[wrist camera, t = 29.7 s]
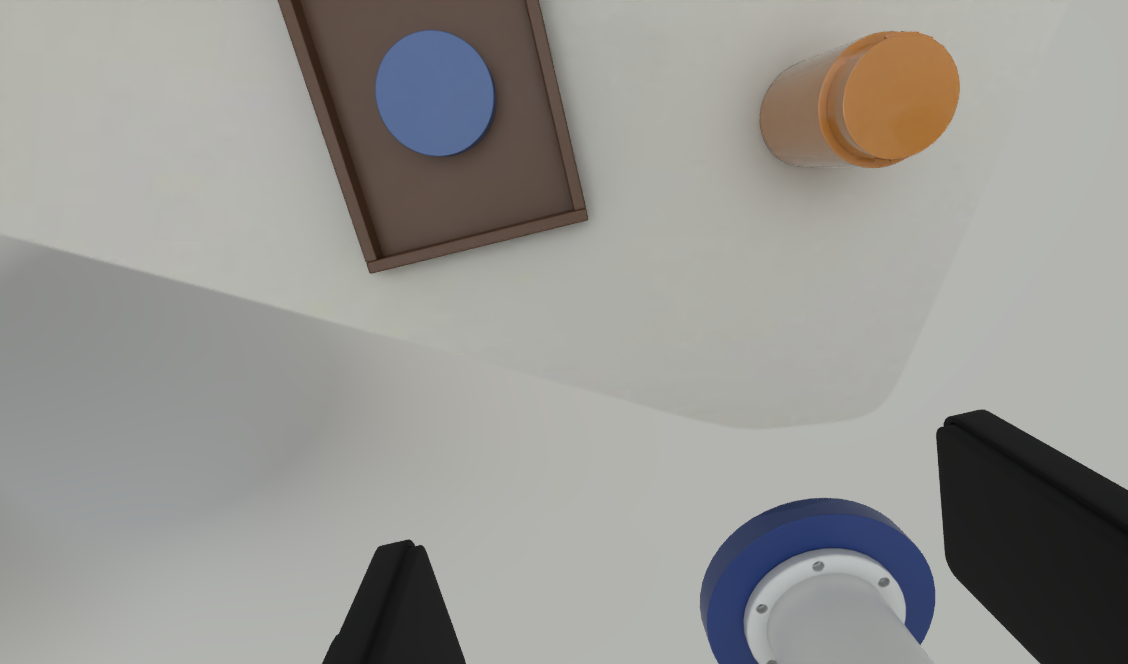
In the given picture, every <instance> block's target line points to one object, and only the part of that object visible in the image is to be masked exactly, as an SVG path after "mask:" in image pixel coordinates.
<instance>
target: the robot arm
mask: <svg viewBox="0 0 1128 664" xmlns="http://www.w3.org/2000/svg"><path fill="white" fill-rule="evenodd" d="M936 439H937V453H938V466H939V480H940V493H941V507H942V520H943V534H944V547H945V557H946V560H947V563H948V566H949V568H950V570H951V571H952V573H953V574H954V576H955V577H956V578H957V579H958V580H959V581H960V582H961V583H962V584H963V585H964V586H965V587H966V588H967V589H968V590H969V591H970V592H971V593H972V594H973V596H974V597H975V598H976V599H978V601H979V602H980V603H981V604H982V605H983V606H984V607H985V608H986V609H987V610H988V611H989V612H990V613H991V614H992V615H993V616H994V617H995V618H996V619H997V620H998V621H999V622H1000V623H1001V624H1002V625H1003V626H1004V627H1005V628H1006V629H1007V630H1008V631H1009V632H1010V633H1011V634H1012V635H1013V636H1014V637H1015V638H1016V639H1017V640H1018V641H1019V642H1020V643H1021V644H1022V645H1023V646H1024V648H1025V649H1026V650H1027V651H1028V652H1029V653H1030V654H1031V655H1032V656H1033V657H1034V658H1035V659H1036V660H1037V661H1038V662H1039V663H1040V664H1128V490H1126V489H1125V488H1123V487H1121V486H1119V485H1118V484H1116V483H1114V482H1112V481H1110V480H1109V479H1107V478H1105V477H1103V476H1102V475H1100V474H1098V473H1096V472H1094V471H1093V470H1091V469H1089V468H1087V467H1086V466H1084V465H1082V464H1081V463H1079V462H1077V461H1075V460H1073V459H1072V458H1070V457H1068V456H1066V455H1065V454H1063V453H1061V452H1059V451H1058V450H1056V449H1054V448H1052V447H1050V446H1049V445H1047V444H1045V443H1043V442H1042V441H1040V440H1038V439H1036V438H1035V437H1033V436H1031V435H1029V434H1028V433H1026V432H1024V431H1022V430H1020V429H1019V428H1017V427H1015V426H1013V425H1012V424H1010V423H1008V422H1006V421H1005V420H1002V419H1001V418H999V417H997V416H996V415H994V414H992V413H990V412H989V411H986V410H976V411H972V412H967V413H963V414H959V415H954V416H950V417H948V418H946V419H945V422H944V427H940V428H939V429H938V430H937V433H936ZM905 619H906V605H905V600H904V596H903V593H902V591H901V589H900V587H899V585H898V583H897V582H896V580H895V579H894V578H893V577H892V575H891V574H890V573H889V572H888V570H886V569H885V568H884V567H883V566H882V565H881V564H880V563H879V562H878V561H876V560H874V559H873V558H871V557H869V556H868V555H865V554H862V553H859V552H857V551H854V550H847V549H841V548H823V549H818V550H812V551H807V552H805V553H802V554H799V555H796V556H793V557H791V558H789V559H788V560H786V561H784V562H782V563H780V564H779V565H777V566H776V567H775V568H773V569H772V570H771V571H770V572H768V573H767V574H766V575H765V576H764V577H763V578H762V580H761V581H760V582H759V583H758V584H757V586H756V587H755V589H754V590H753V592H752V593H751V595H750V597H749V600H748V602H747V605H746V608H745V613H744V620H743V622H744V633H745V637H746V640H747V643H748V645H749V648H750V650H751V652H752V654H753V656H754V658H755V659H756V661H757V662H758V663H759V664H934V663H933V661H932V660H931V659H930V658H929V656H928V655H927V654H926V652H925V651H924V650H923V648H922V647H921V646H920V645H919V643H918V642H917V641H916V639H915V638H914V637H913V635H912V634H911V633H910V632H909V630H908V629H907V628H906V626H905V625H904V623H905ZM322 664H466V663H465V659H464V656H463V653H462V650H461V647H460V645H459V642H458V639H457V637H456V633H455V631H454V628H453V625H452V623H451V619H450V617H449V614H448V611H447V609H446V605H445V603H444V600H443V597H442V594H441V592H440V589H439V586H438V583H437V580H436V577H435V575H434V572H433V569H432V566H431V563H430V561H429V558H428V555H427V552H426V550H425V548H424V547H423V546H422V545H419V546H415V545H414V543H413V542H412V541H411V540H404V541H400V542H395V543H391V544H387V545H382V546H379V547H378V548H377V550H376V551H375V554H374V556H373V558H372V560H371V563H370V565H369V567H368V569H367V572H366V574H365V576H364V578H363V581H362V583H361V585H360V587H359V590H358V592H357V594H356V596H355V599H354V601H353V603H352V605H351V608H350V610H349V612H348V614H347V617H346V619H345V621H344V624H343V626H342V628H341V630H340V632H339V634H338V635H336V637H335V638H334V640H333V641H332V643H331V645H330V647H329V650H328V652H327V654H326V656H325V658H324V661H323V663H322Z"/></svg>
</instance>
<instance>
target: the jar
mask: <svg viewBox="0 0 1128 664" xmlns="http://www.w3.org/2000/svg"><path fill="white" fill-rule="evenodd" d="M959 92H960V83H959V75H958V71H957V67H956V65H955V63H954V60H953V59H952V57H951V55H950V54H949V53H948V51H947V50H946V49H945V48H944V46H943V45H941V44H940V43H938V42H937V41H936V40H934V39H933V37H930V36H927V35H924V34H921V33H919V32H903V31H902V32H894V31H887V32H879V33H874V34H871V35H868V36H866V37H863V38H860V39H858V40H855V41H853V42H850V43H848V44H845V45H843V46H840V47H838V48H835V49H833V50H830V51H828V52H825V53H823V54H820V55H818V56H815V57H813V58H810V59H808V60H805V61H802V62H800V63H797V64H795V65H793V66H791V67H790V68H788V69H786V70H785V71H784V72H783V73H781V74H780V75H779V76H778V77H777V78H776V79H775V80H774V82H773V83H772V84H771V86H770V87H769V89H768V91H767V93H766V95H765V97H764V100H763V103H762V107H761V113H760V126H761V131H762V135H763V138H764V141H765V143H766V144H767V146H768V148H769V149H770V151H771V152H772V153H773V154H774V155H775V156H776V157H778V158H779V159H780V160H782V161H784V162H785V163H788V164H790V165H794V166H799V167H836V168H880V167H886V166H890V165H893V164H896V163H898V162H900V161H902V160H904V159H906V158H908V157H910V156H912V155H915V154H917V153H919V152H921V151H923V150H924V149H926V148H927V147H929V146H930V145H931V144H933V143H934V142H935V141H936V140H937V139H938V138H939V137H940V136H941V135H942V133H943V132H944V131H945V130H946V128H947V126H948V125H949V123H950V122H951V120H952V118H953V116H954V113H955V110H956V107H957V103H958V99H959Z"/></svg>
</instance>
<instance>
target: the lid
mask: <svg viewBox="0 0 1128 664" xmlns="http://www.w3.org/2000/svg"><path fill="white" fill-rule="evenodd" d="M375 94H376V102H377V107H378V110H379V113H380V116H381V118H382V120H383V122H384V124H385V125H386V127H387V128H388V130H389V131H390V132H391V134H392V135H393V136H394V137H395V138H396V139H397V140H398V141H399V142H400V143H402V144H403V145H404V146H406V147H407V148H409V149H411V150H413V151H415V152H418V153H420V154H424V155H428V156H437V157H449V156H455V155H458V154H462V153H464V152H466V151H468V150H470V149H472V148H473V147H475V146H476V145H477V144H478V143H479V142H480V141H481V140H482V139H483V138H484V137H485V135H486V134H487V132H488V131H489V129H490V127H491V125H492V123H493V120H494V117H495V113H496V105H497V94H496V88H495V84H494V80H493V77H492V75H491V73H490V70H489V69H488V67H487V65H486V64H485V62H484V60H483V59H482V58H481V56H480V55H479V54H478V52H477V51H476V50H475V49H474V48H473V47H472V46H471V45H470V44H468V43H467V42H466V41H464V40H463V39H461V38H459V37H458V36H455V35H453V34H451V33H447V32H444V31H437V30H424V31H418V32H415V33H412V34H410V35H407V36H405V37H403V38H402V39H401V40H399V41H398V42H396V43H395V44H394V45H393V46H392V47H391V48H390V49H389V51H388V52H387V53H386V55H385V56H384V58H383V60H382V62H381V64H380V66H379V69H378V73H377V77H376V83H375Z"/></svg>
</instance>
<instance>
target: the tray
mask: <svg viewBox="0 0 1128 664" xmlns="http://www.w3.org/2000/svg"><path fill="white" fill-rule="evenodd" d="M278 3H279V5H280V8H281V11H282V14H283V17H284V20H285V23H286V26H287V29H288V32H289V35H290V38H291V41H292V44H293V47H294V50H295V53H296V56H297V59H298V62H299V65H300V68H301V71H302V74H303V77H304V80H305V83H306V86H307V89H308V92H309V95H310V98H311V101H312V104H313V107H314V110H315V112H316V115H317V118H318V121H319V124H320V127H321V130H322V133H323V136H324V139H325V142H326V145H327V148H328V151H329V154H330V157H331V160H332V163H333V166H334V169H335V172H336V175H337V178H338V181H339V184H340V187H341V190H342V193H343V196H344V199H345V202H346V205H347V208H348V211H349V214H350V217H351V219H352V222H353V225H354V228H355V231H356V234H357V237H358V240H359V243H360V246H361V249H362V252H363V255H364V258H365V261H366V262H367V267H368V270H369V273H376V272H380V271H384V270H388V269H392V268H396V267H400V266H404V265H408V264H412V263H416V262H420V261H424V260H428V259H432V258H436V257H440V256H444V255H448V254H452V253H457V252H461V251H465V250H469V249H473V248H477V247H481V246H485V245H489V244H493V243H497V242H501V241H505V240H509V239H513V238H517V237H521V236H525V235H529V234H534V233H538V232H542V231H546V230H550V229H554V228H558V227H562V226H566V225H570V224H574V223H578V222H582V221H586V220H588V215H587V211H586V209H585V207H586V206H585V202H584V197H583V193H582V189H581V184H580V180H579V175H578V171H577V167H576V162H575V158H574V153H573V149H572V145H571V140H570V136H569V131H568V127H567V123H566V118H565V114H564V109H563V105H562V101H561V96H560V92H559V87H558V83H557V79H556V74H555V70H554V65H553V61H552V57H551V52H550V48H549V43H548V39H547V35H546V30H545V26H544V21H543V17H542V13H541V8H540V4H539V0H278ZM424 30H437V31H444V32H447V33H451V34H453V35H455V36H458V37H459V38H461V39H463V40H464V41H466V42H467V43H468V44H470V45H471V46H472V47H473V48H474V49H475V50H476V51H477V52H478V54H479V55H480V56H481V58H482V59H483V60H484V62H485V64H486V65H487V67H488V69H489V70H490V73H491V75H492V77H493V80H494V84H495V88H496V94H497V105H496V113H495V117H494V120H493V123H492V125H491V127H490V129H489V131H488V132H487V134H486V135H485V137H484V138H483V139H482V140H481V141H480V142H479V143H478V144H477V145H476V146H475V147H473V148H472V149H470V150H468V151H466V152H464V153H462V154H458V155H455V156H449V157H437V156H428V155H424V154H420V153H418V152H415V151H413V150H411V149H409V148H407V147H406V146H404V145H403V144H402V143H400V142H399V141H398V140H397V139H396V138H395V137H394V136H393V135H392V134H391V132H390V131H389V130H388V128H387V127H386V125H385V124H384V122H383V120H382V118H381V116H380V113H379V110H378V107H377V102H376V94H375V83H376V77H377V73H378V69H379V66H380V64H381V62H382V60H383V58H384V56H385V55H386V53H387V52H388V51H389V49H390V48H391V47H392V46H393V45H394V44H395V43H396V42H398V41H399V40H401V39H402V38H403V37H405V36H407V35H410V34H412V33H415V32H418V31H424Z"/></svg>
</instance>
